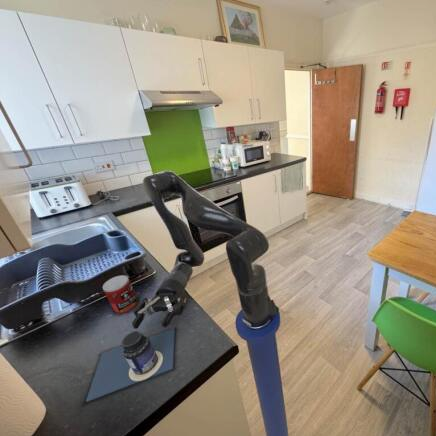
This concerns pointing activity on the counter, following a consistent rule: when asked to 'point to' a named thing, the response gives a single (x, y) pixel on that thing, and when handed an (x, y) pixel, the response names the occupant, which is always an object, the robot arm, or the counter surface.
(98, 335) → the counter surface
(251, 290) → the robot arm
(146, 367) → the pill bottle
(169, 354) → the placemat
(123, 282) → the canned food
